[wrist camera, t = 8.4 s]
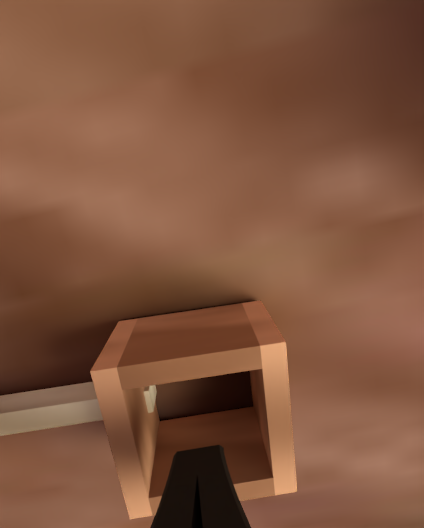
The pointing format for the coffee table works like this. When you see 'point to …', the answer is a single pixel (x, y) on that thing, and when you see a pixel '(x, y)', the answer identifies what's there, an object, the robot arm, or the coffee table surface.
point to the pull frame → (187, 428)
